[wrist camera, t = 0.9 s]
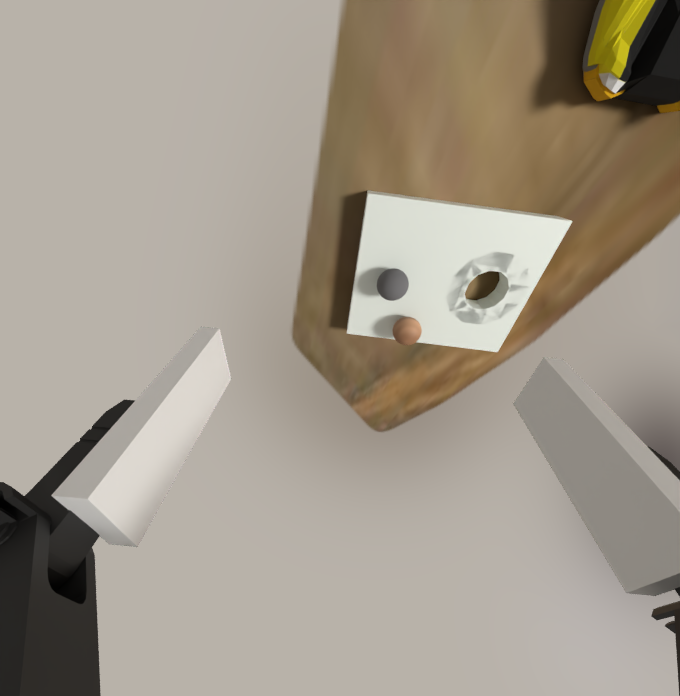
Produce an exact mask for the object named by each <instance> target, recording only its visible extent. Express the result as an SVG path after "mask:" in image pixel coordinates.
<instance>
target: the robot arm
mask: <svg viewBox="0 0 680 696" xmlns="http://www.w3.org/2000/svg"><path fill="white" fill-rule="evenodd" d="M230 380H231V375H230V371H229V367H228V363H227V358H226V354H225V350H224V346H223V341H222V337H221V333H220V329H219V328H209V327H200V328H199V329H198V330H197V332H196V333H195V334H194V335H193V336H192V337H191V338H190V339H189V341H188V342H187V343H186V344H185V345H184V346H183V347H182V348H181V350H180V351H179V352H178V353H177V354H176V355H175V356H174V358H173V359H172V360H171V361H170V362H169V363H168V364H167V366H166V367H165V368H164V369H163V370H162V371H161V372H160V373H159V375H158V376H157V377H156V378H155V379H154V380H153V381H152V382H151V384H150V385H149V386H148V387H147V388H146V389H145V390H144V391H143V393H142V394H141V395H140V396H139V397H138V398H137V399H136V400H135V401H133V400H123V401H122V402H120V403H119V404H117V405H116V406H114V407H113V408H111V409H109V410H108V411H106V412H105V413H104V414H103V416H101V418H100V419H99V420H98V421H97V422H96V423H95V424H94V425H93V426H92V429H91V430H90V429H89V430H88V431H87V432H86V433H85V434H84V435H83V436H82V438H80V441H79V442H77V443H76V444H75V445H74V446H73V447H72V448H71V449H70V450H69V451H68V452H67V453H66V454H65V455H64V456H63V457H62V458H61V459H60V460H59V461H58V462H57V464H55V466H54V467H53V468H52V469H51V470H50V471H49V472H48V473H47V474H46V475H45V476H44V477H43V478H42V479H41V480H40V481H39V482H38V483H37V484H36V485H35V486H34V487H33V489H32V490H31V491H29V492H28V493H27V494H26V495H25V496H23V495H21V494H20V493H19V492H18V491H16V490H15V489H13V488H12V487H11V486H9V485H7V484H5V483H4V482H0V696H100V676H99V675H100V674H99V651H98V628H97V605H96V581H95V559H94V558H95V557H94V552H93V549H92V546H93V545H94V543H95V542H96V540H97V539H98V537H99V536H100V537H101V538H103V539H104V540H105V541H106V542H107V543H108V544H112V545H124V546H133V547H138V545H139V543H140V541H141V539H142V538H143V536H144V534H145V532H146V531H147V529H148V527H149V525H150V523H151V522H152V520H153V518H154V516H155V514H156V513H157V511H158V509H159V507H160V505H161V504H162V502H163V500H164V498H165V496H166V495H167V493H168V491H169V489H170V488H171V486H172V484H173V482H174V480H175V479H176V477H177V475H178V473H179V471H180V470H181V468H182V466H183V464H184V462H185V461H186V459H187V457H188V455H189V453H190V452H191V450H192V448H193V446H194V444H195V443H196V441H197V439H198V437H199V435H200V434H201V432H202V430H203V428H204V426H205V424H206V422H207V421H208V419H209V417H210V416H211V414H212V412H213V410H214V408H215V407H216V405H217V403H218V401H219V399H220V398H221V396H222V394H223V392H224V390H225V388H226V387H227V385H228V383H229V381H230ZM513 404H514V406H515V407H516V409H517V411H518V413H519V414H520V416H521V418H522V419H523V421H524V423H525V424H526V426H527V428H528V429H529V431H530V433H531V434H532V436H533V438H534V439H535V441H536V443H537V444H538V446H539V448H540V449H541V451H542V453H543V454H544V456H545V458H546V459H547V461H548V463H549V464H550V466H551V468H552V469H553V471H554V473H555V474H556V476H557V478H558V480H559V481H560V483H561V484H562V486H563V488H564V490H565V491H566V493H567V495H568V496H569V498H570V500H571V501H572V503H573V504H574V506H575V508H576V510H577V511H578V513H579V515H580V516H581V518H582V520H583V521H584V523H585V525H586V526H587V528H588V530H589V531H590V533H591V534H592V536H593V538H594V540H595V541H596V543H597V545H598V546H599V548H600V550H601V551H602V553H603V555H604V556H605V558H606V560H607V561H608V563H609V565H610V566H611V568H612V570H613V571H614V573H615V575H616V576H617V578H618V580H619V581H620V583H621V585H622V587H623V588H624V590H625V591H626V593H632V594H642V595H652V596H656V595H659V594H662V593H665V592H668V591H671V590H674V589H675V590H676V592H677V593H678V595H679V596H680V472H679V471H678V470H677V469H676V468H675V467H674V466H673V464H672V463H671V462H669V461H668V460H667V459H665V458H664V457H662V456H661V455H660V454H658V453H657V452H656V451H654V450H653V449H651V448H650V447H648V446H646V445H645V444H644V443H643V442H642V441H641V440H640V439H639V438H638V437H637V436H636V435H635V434H634V432H633V431H632V430H631V429H630V428H629V427H628V426H627V425H626V424H625V423H624V422H623V421H622V420H621V419H620V418H619V417H618V416H617V415H616V414H615V413H614V412H613V411H612V410H611V409H610V407H609V406H608V405H607V404H606V403H605V402H604V401H603V400H602V399H601V398H600V397H599V396H598V395H597V394H596V393H595V392H594V391H593V390H592V389H591V388H590V387H589V386H588V385H587V384H586V383H585V381H583V379H582V378H581V377H580V376H579V375H578V374H577V373H576V372H575V371H574V370H573V369H572V368H571V367H570V366H569V365H568V364H567V363H566V362H565V361H564V360H563V359H556V358H546V357H544V358H543V360H542V361H541V363H540V364H539V366H538V367H537V369H536V370H535V372H534V373H533V375H532V376H531V378H530V379H529V381H528V382H527V384H526V385H525V387H524V388H523V390H522V391H521V393H520V394H519V396H518V397H517V399H516V400H515V402H514V403H513ZM671 616H675V621H671V622H669V623H667V624H666V625H665V626H666V627H667V628H668V629H670V630H671V631H672V632H674V633H675V634H676V648H677V663H678V680H679V695H680V601H678V602H675V603H671V604H668V605H665V606H662V607H658V608H656V609H654V610H653V613H652V617H653V618H655V619H656V620H660V619H664V618H667V617H671Z"/></svg>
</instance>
